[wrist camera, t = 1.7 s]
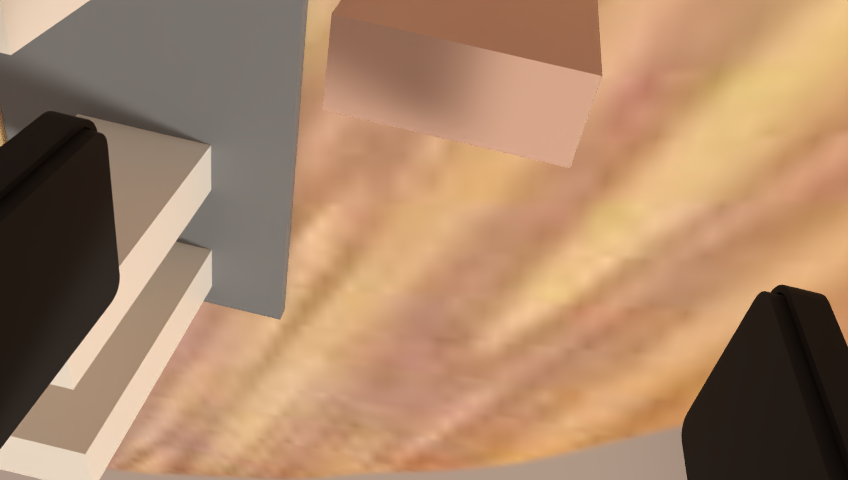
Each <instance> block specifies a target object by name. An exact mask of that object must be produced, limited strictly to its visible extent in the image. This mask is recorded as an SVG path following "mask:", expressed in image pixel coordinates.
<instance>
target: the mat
mask: <svg viewBox="0 0 848 480" xmlns="http://www.w3.org/2000/svg"><path fill="white" fill-rule="evenodd" d="M307 6H308V0H90V1H88V2H87V3H85V4H84V5H82V6H81V7H79V8H78V9H77V10H75V11H74V12H72V13H71V14H69V15H68V16H67V17H65V18H64V19H62V20H61V21H59V22H58V23H56V24H55V25H54V26H52V27H51V28H49V29H48V30H46V31H45V32H44V33H42V34H41V35H39V36H38V37H36V38H35V39H33V40H32V41H31V42H29V43H28V44H26V45H25V46H23V47H22V48H21V49H19V50H18V51H16V52H15V53H13V54H12V55H9V54H4V53H0V106H1V111H2V116H3V121H4V126H5V131H6V136H7V141H9V140H10V139H11V138H13V137H14V136H15V135H16V134H18V133H19V132H20V131H21V130H23V129H24V128H25V127H26V126H28V125H29V124H30V123H31V122H33V121H34V120H35V119H36V118H38V117H39V116H40V115H42V114H43V113H45V112H47V111H55V112H60V113H64V114H68V115H72V116H76V115H77V114H80V115H84V116H88V117H93V118H97V119H101V120H105V121H110V122H114V123H118V124H122V125H127V126H131V127H135V128H139V129H144V130H148V131H152V132H156V133H161V134H165V135H169V136H174V137H178V138H182V139H186V140H191V141H195V142H199V143H203V144H208V145H211V191H210V192H209V194H208V195H207V197H206V198H205V200H204V201H203V203H202V204H201V206H200V207H199V208H198V210H197V211H196V213H195V214H194V216H193V217H192V219H191V220H190V221H189V223H188V224H187V226H186V227H185V229H184V230H183V232H182V233H181V234H180V236H179V237H178V239H177V240H176V242H180V243H184V244H188V245H193V246H197V247H201V248H205V249H209V250H212V287H211V289H210V291H209V292H208V294H207V296H206V297H205V299H204V301H205V302H209V303H213V304H217V305H222V306H226V307H230V308H234V309H238V310H242V311H247V312H251V313H255V314H259V315H263V316H268V317H272V318H276V319H281V317H282V314H283V312H284V309H285V296H286V283H287V270H288V257H289V243H290V230H291V217H292V204H293V191H294V177H295V164H296V151H297V138H298V125H299V112H300V98H301V85H302V72H303V59H304V46H305V32H306V19H307Z"/></svg>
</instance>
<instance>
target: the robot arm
mask: <svg viewBox="0 0 848 480" xmlns="http://www.w3.org/2000/svg"><path fill="white" fill-rule="evenodd" d="M119 282H120V272H119V261H118V250H117V240H116V229H115V218H114V207H113V196H112V185H111V174H110V163H109V152H108V143H107V139H106V137H105V135H104V134H102V133H99V132H97V128H96V126H95V124H94V122H92V121H91V120H89V119H85V118H81V117H76V116H72V115H68V114H64V113H60V112H55V111H47V112H45V113H43V114H42V115H40V116H39V117H38V118H36V119H35V120H34V121H33V122H31V123H30V124H29V125H28V126H26V127H25V128H24V129H23V130H21V131H20V132H19V133H18V134H16V135H15V136H14V137H13V138H11V139H10V140H9V141H7V142H6V143H5V144H4V145H2V146H1V147H0V449H1V448H2V446H3V445H4V444H5V442H6V441H7V440H8V438H9V437H10V436H11V435H12V433H13V432H14V431H15V429H16V428H17V427H18V425H19V424H20V423H21V421H22V420H23V419H24V417H25V416H26V415H27V413H28V412H29V411H30V409H31V408H32V407H33V406H34V404H35V403H36V402H37V400H38V399H39V398H40V396H41V395H42V394H43V392H44V391H45V390H46V388H47V387H48V386H49V384H50V383H51V382H52V380H53V379H54V378H55V376H56V375H57V374H58V373H59V371H60V370H61V369H62V367H63V366H64V365H65V363H66V362H67V361H68V359H69V358H70V357H71V355H72V354H73V353H74V351H75V350H76V349H77V347H78V346H79V345H80V344H81V342H82V341H83V340H84V338H85V337H86V336H87V334H88V333H89V332H90V330H91V329H92V328H93V326H94V325H95V324H96V322H97V321H98V320H99V318H100V317H101V316H102V314H103V313H104V312H105V311H106V309H107V308H108V307H109V305H110V304H111V303H112V301H113V299H114V298H115V296H116V293H117V291H118V287H119ZM682 445H683V452H684V459H685V466H686V473H687V479H688V480H848V346H847V344H846V342H845V339H844V337H843V334H842V332H841V330H840V327H839V325H838V322H837V320H836V318H835V315H834V313H833V311H832V308H831V306H830V303H829V301H828V300H827V298H826V297H825V296H824V295H822V294H820V293H815V292H811V291H807V290H803V289H799V288H794V287H790V286H786V285H778V286H777V287H775V288H774V289H773V290H772V291H771V293H770V292H766V291H763V292H761V293H759V294H758V295H757V297H756V298H755V300H754V301H753V303H752V305H751V306H750V308H749V310H748V311H747V313H746V315H745V317H744V318H743V320H742V322H741V323H740V325H739V327H738V328H737V330H736V332H735V333H734V335H733V337H732V338H731V340H730V342H729V344H728V345H727V347H726V349H725V350H724V352H723V354H722V355H721V357H720V359H719V360H718V362H717V364H716V366H715V367H714V369H713V371H712V372H711V374H710V376H709V377H708V379H707V381H706V382H705V384H704V386H703V387H702V389H701V391H700V393H699V394H698V396H697V398H696V399H695V401H694V403H693V404H692V406H691V408H690V409H689V411H688V413H687V415H686V417H685V419H684V423H683V427H682Z"/></svg>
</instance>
